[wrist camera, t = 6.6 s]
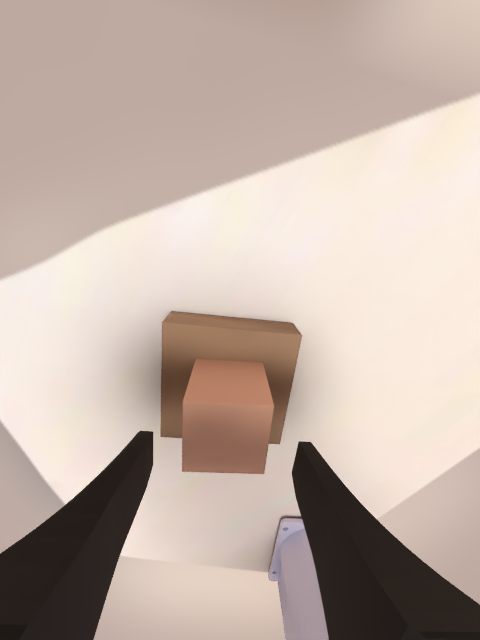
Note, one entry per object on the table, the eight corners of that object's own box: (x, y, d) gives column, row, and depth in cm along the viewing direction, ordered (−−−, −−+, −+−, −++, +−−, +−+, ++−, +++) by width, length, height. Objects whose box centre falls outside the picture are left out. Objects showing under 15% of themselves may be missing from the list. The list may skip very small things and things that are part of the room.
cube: (256, 417, 18) (264, 474, 13) (194, 414, 17) (182, 471, 13) (262, 362, 16) (274, 405, 12) (195, 358, 16) (182, 401, 12)
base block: (274, 421, 21) (279, 444, 18) (168, 413, 20) (160, 436, 18) (292, 323, 18) (302, 335, 16) (171, 311, 18) (162, 322, 15)
